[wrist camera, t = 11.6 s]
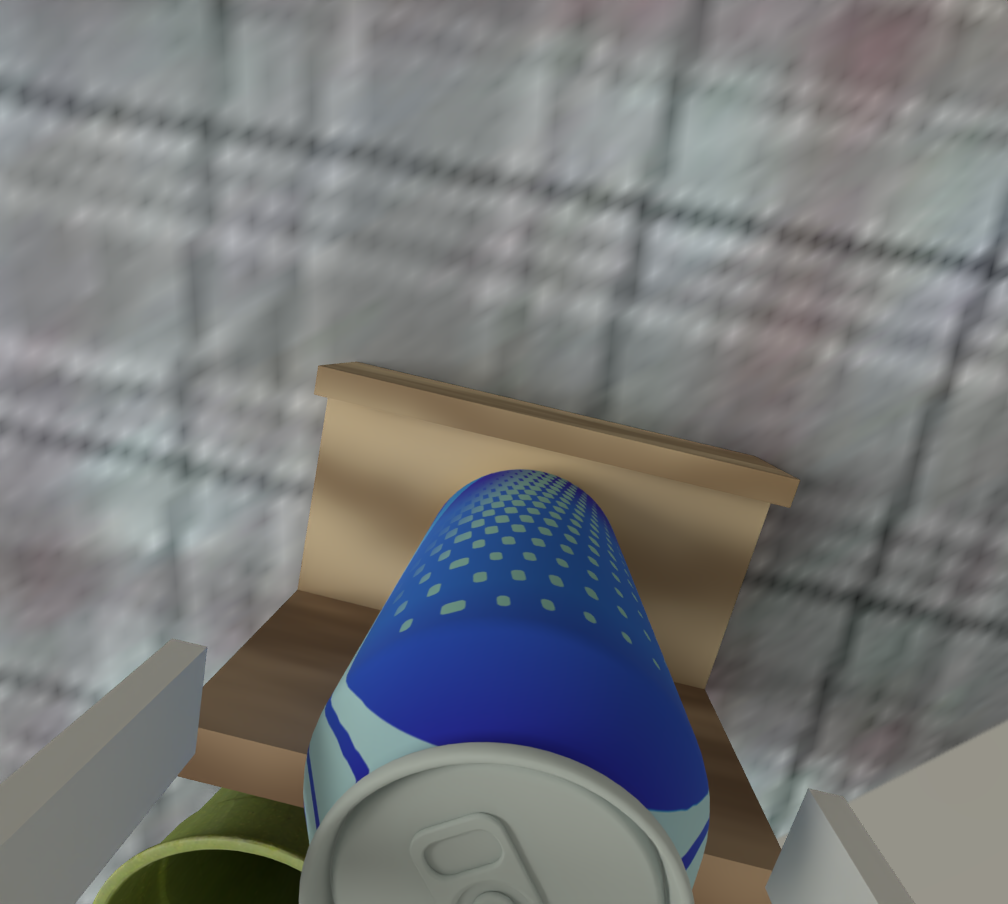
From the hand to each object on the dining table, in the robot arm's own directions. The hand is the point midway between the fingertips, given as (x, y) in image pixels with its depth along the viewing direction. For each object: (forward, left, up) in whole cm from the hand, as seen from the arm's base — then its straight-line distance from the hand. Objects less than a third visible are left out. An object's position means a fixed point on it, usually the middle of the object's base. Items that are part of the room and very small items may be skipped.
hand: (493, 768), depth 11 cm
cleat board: (0, 0, -16) cm, 16 cm away
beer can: (0, 0, -13) cm, 13 cm away
